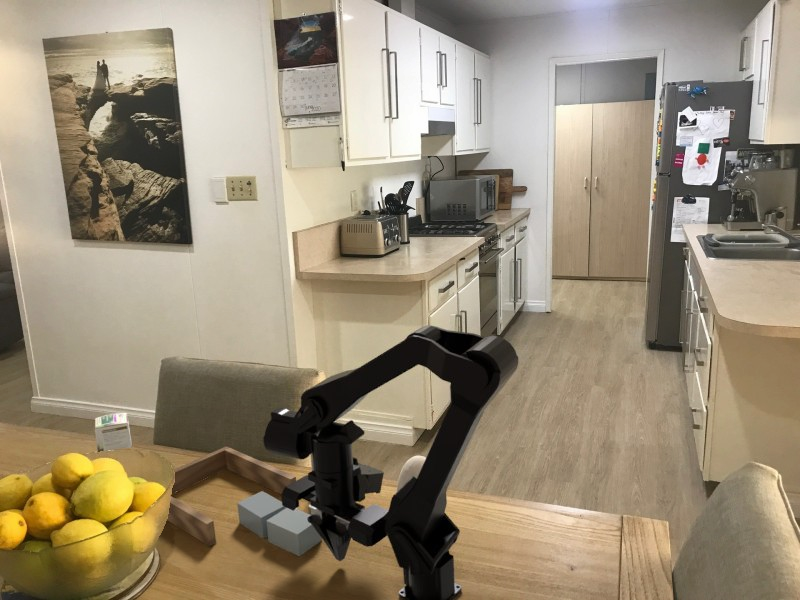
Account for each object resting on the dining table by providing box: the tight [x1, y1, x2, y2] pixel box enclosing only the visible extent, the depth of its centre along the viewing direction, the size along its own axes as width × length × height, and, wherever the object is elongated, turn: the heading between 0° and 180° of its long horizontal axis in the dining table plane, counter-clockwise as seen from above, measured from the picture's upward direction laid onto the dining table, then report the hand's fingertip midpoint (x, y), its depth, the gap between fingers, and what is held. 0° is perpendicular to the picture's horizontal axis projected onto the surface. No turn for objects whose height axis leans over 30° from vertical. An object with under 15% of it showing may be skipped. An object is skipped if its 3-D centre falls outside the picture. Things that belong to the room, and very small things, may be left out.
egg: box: [396, 455, 426, 492], centre depth 106 cm, size 7×7×12 cm
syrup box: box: [94, 412, 133, 453], centre depth 121 cm, size 6×6×14 cm
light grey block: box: [266, 508, 323, 557], centre depth 104 cm, size 7×5×4 cm
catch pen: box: [167, 446, 297, 547], centre depth 117 cm, size 21×18×4 cm
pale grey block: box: [236, 490, 287, 540], centre depth 109 cm, size 7×5×4 cm
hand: (340, 559), depth 97 cm, fingers closed
